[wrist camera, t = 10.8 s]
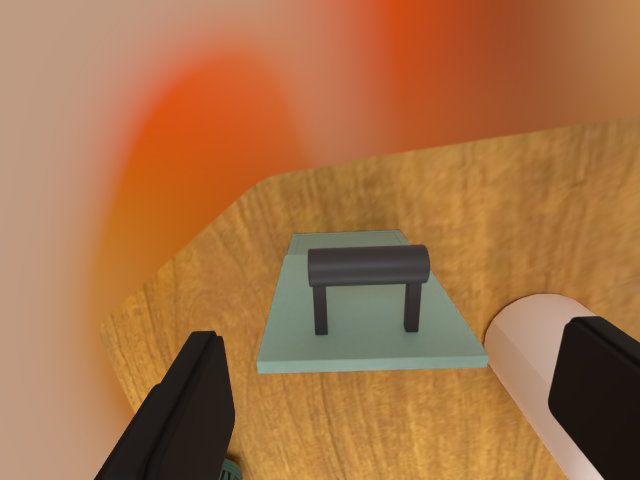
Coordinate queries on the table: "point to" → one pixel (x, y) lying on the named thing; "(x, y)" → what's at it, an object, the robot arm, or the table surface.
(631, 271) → the table surface
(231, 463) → the beverage bottle
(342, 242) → the cool box
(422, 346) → the lid
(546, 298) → the can
